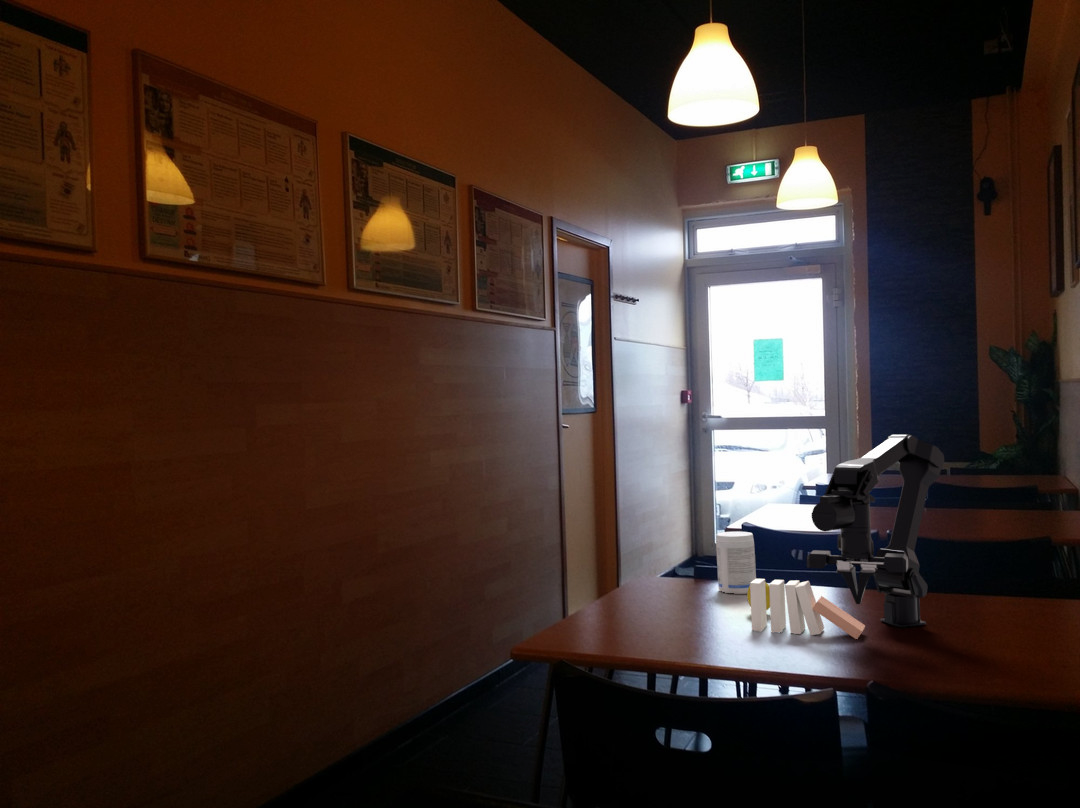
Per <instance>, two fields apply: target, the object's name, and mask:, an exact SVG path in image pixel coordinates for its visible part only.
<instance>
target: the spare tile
mask: <svg viewBox="0 0 1080 808" xmlns="http://www.w3.org/2000/svg"><path fill="white" fill-rule="evenodd" d="M813 610H815V611H816V612H817V613H819V614H820V616H821V617H824V618H825V619H826V620H827V621H829V622H830V623H832V624H834V625H835V626H836V627H838V628H839V629H841V630H842V631H843V632H845V633H847V635H849V636H851V637H852V638H853V639H855V640H856V639H857V640H858V639H859V637H860V636H861V634H862V633H863V631H864V630H865V627H866V625H865V624H864V623H862V622H861V621H860V620H858V619H856V618H855V617H853V616H852V615H851V614H849V613H848V612H846V611H844V609H842V608H840V607H838V606H837V605H836V604H834V603H833V602H831V601H830V600H829V599H827V598H826V597H824V596H822V595H821V596H820V597H819V599H818V600H817V601H816V604H815V606H814V607H813Z"/></svg>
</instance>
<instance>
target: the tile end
mask: <svg viewBox="0 0 1080 808" xmlns="http://www.w3.org/2000/svg"><path fill="white" fill-rule="evenodd" d="M765 582H766V579H765V578H756V579H755V580H753V581H752V582H751V583H750V595H751V607H750V614H751V617H750V618H751V631H752V630H754V631H755V632H762V631H763V630H765V628H766V627H767V626H768V621H767V620H768V617H767V616H768V615H767V614H768V613H767V610H766V588H765ZM766 625H767V626H766ZM754 631H753V632H754Z"/></svg>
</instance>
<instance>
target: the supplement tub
mask: <svg viewBox="0 0 1080 808" xmlns="http://www.w3.org/2000/svg"><path fill="white" fill-rule="evenodd" d="M754 539H755V538H754V535H753V533H752V532H748V531H723V532H718V533H716V535H715V549H716V565H717V566H716V567H717V581H718V582H717V584H718V585H717V586H718V590H719V591H720V592H721V591H722V592H721V593H723V592H725V593H724V594H727V593H734V594H733V595H747V593H748V588H749V586H750V583H751V582H752V581H753V580H755V579H757V572H756V554H755V550H756V549H755V541H754Z"/></svg>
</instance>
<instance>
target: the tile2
mask: <svg viewBox="0 0 1080 808" xmlns="http://www.w3.org/2000/svg"><path fill="white" fill-rule="evenodd" d="M795 589H796V592H797V595H798V598H799V601H800V605H801V608H802V611H803V614H804V621H805V624H806V626H807V629H808V631H809V635H810V636H815V635H821V634H822V632H823V631H824V629H825V626H824V622H823V620H822V615H820V614H819V613H817V612H816V611H815V610H813V607H814V606H815V604H816V603H817V601H816V597H815V595H814V592H813V588H812V587H811V583H810V581H809V580H806V581H802V582H800V583H799V584H798V585H797V586H796V587H795Z"/></svg>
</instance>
